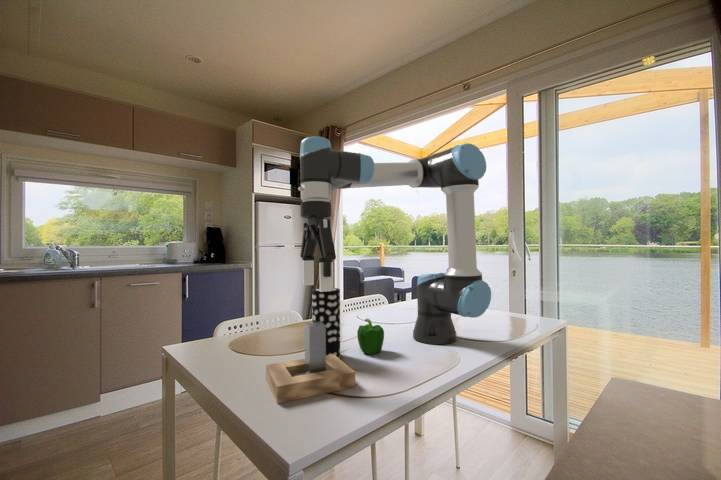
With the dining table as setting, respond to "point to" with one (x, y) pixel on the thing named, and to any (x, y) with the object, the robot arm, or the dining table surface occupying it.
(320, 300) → the white-spotted black cylinder
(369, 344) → the bell pepper
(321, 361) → the bracket
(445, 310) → the robot arm
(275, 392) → the wooden rectangular frame
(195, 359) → the dining table surface
